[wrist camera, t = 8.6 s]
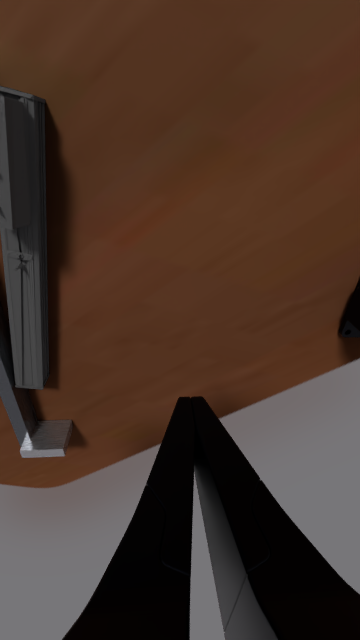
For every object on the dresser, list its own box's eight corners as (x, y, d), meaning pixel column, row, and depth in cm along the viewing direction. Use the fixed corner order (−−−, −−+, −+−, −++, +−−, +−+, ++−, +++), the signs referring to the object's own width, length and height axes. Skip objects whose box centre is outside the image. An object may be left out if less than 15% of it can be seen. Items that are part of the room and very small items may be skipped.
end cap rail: (-8, 70, 14) (-45, 53, 11) (73, 426, 27) (64, 456, 25) (-100, 63, 13) (-160, 44, 11) (29, 428, 27) (16, 458, 24)
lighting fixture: (58, 371, 24) (42, 411, 21) (25, 368, 24) (3, 408, 20) (59, 103, 15) (30, 91, 11) (4, 87, 14) (-46, 71, 11)
